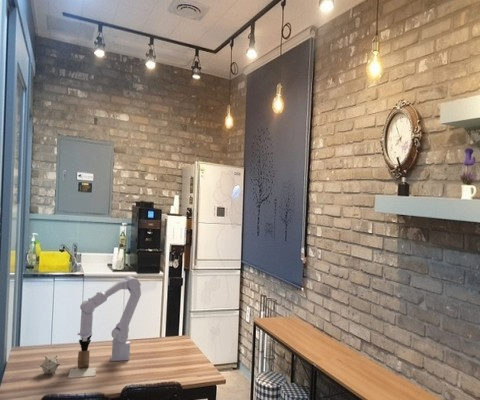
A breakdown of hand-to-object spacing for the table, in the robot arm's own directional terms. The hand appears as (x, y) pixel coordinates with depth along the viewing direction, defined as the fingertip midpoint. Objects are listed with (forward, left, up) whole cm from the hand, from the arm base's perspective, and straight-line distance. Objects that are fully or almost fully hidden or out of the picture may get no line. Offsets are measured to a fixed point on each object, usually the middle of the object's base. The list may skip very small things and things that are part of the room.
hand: (84, 350), depth 203 cm
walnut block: (0, +3, -5) cm, 6 cm away
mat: (0, +11, -7) cm, 13 cm away
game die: (+15, +9, -7) cm, 19 cm away
